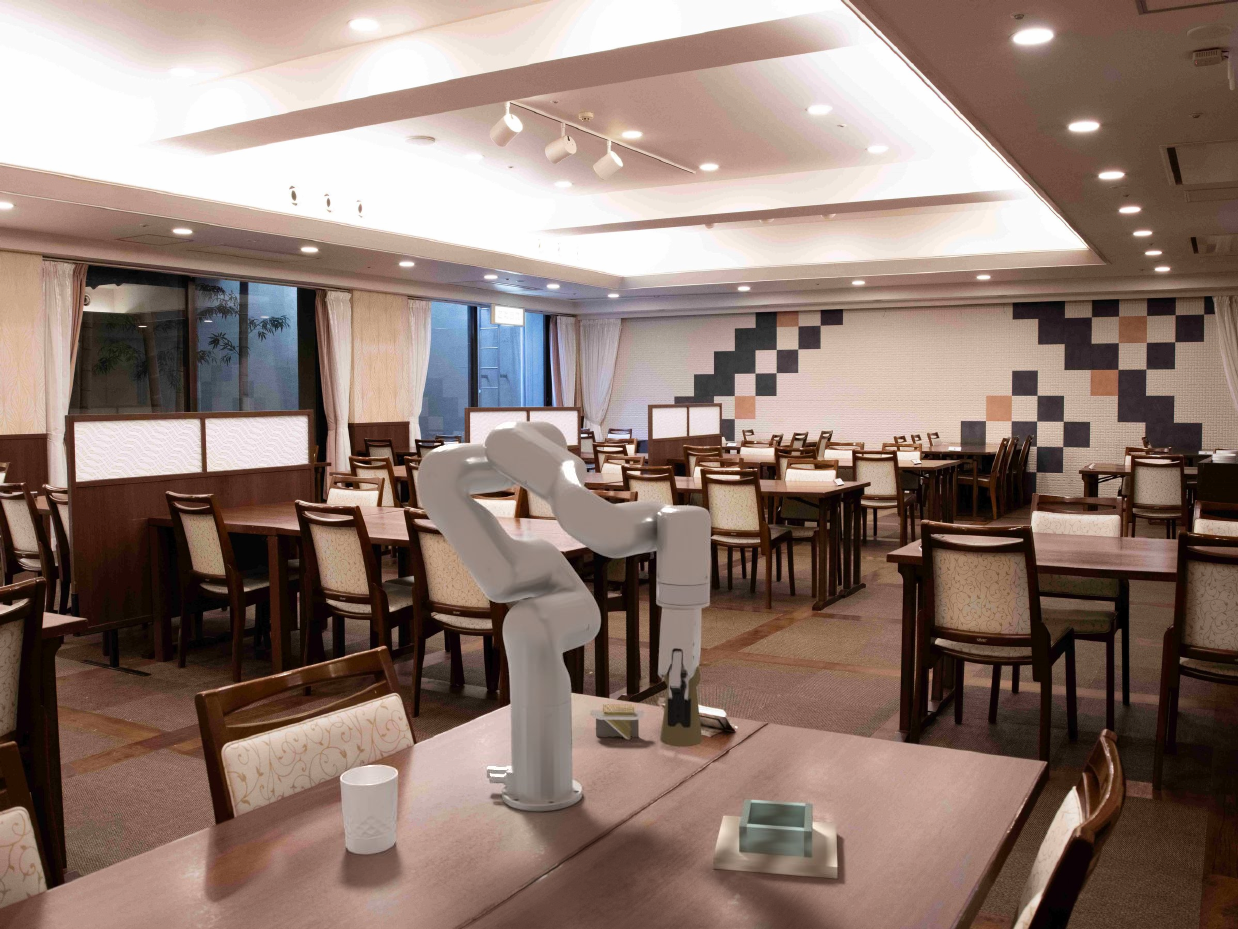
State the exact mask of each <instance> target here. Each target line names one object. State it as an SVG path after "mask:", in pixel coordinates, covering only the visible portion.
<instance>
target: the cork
mask: <svg viewBox="0 0 1238 929" xmlns="http://www.w3.org/2000/svg"><path fill="white" fill-rule="evenodd" d="M669 668H670V667H669ZM669 672H670V669H669V671H668V673H667V674H666V676H664V677H663V679H664V683H665V684H666V686H667V688H666V689H667V690H666V695H665V703H664V708H663V715H662V716H663V718H662V724H661V730H660V737H659V739H660V742H661V743H663V744H665V745H669V746H671V747H683V748H685V747H693V746H697V745H700V744H701V743H702V742H703V735H702V728H701V716H700V709H699V699H698V698H699V697H698V692H697V687H698V685H700V682H701V670H700V668H699V665H698V666H697V668H696V671H695V674H694V676H693V677H692V678H691V679H690V680H689V699H691V725H690V727H689V728H685V727H683V726H682V725H681V724H680V723H677V724H676V726H675V727H671V726H668V697H669ZM681 677H686V673H682V674H681ZM681 684H684V686H685V682H682V683H681ZM684 689H685V688H684Z"/></svg>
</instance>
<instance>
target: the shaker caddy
mask: <svg viewBox="0 0 1238 929" xmlns="http://www.w3.org/2000/svg"><path fill="white" fill-rule="evenodd" d="M813 805H814V804H813V803H810V802H809V803H808V802H793V801H778V800H762V799H750V798H749V799H747V798H746V799H745V798H744V800H743V806H742V810H741V816H736V815H723V816H722V821H721V824H720V828H719V832H718V835H717V840H716V845H715V849H714V852H713V855H712V869H713V870H725V871H726V870H727V871H736V872H737V871H740V872H750V873H751V872H753V873H763V874H776V875H789V876H798V877H799V876H800V877H812V878H815V877H816V878H824V879H825V878H828V879H838V848H837V847H838V846H837V843H838V842H837V841H838V840H837V823H836V822H825V821H814V818H813V815H814V813H813V812H814V811H813V810H814V809H813Z"/></svg>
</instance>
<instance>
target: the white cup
mask: <svg viewBox="0 0 1238 929" xmlns="http://www.w3.org/2000/svg"><path fill="white" fill-rule="evenodd" d="M339 781H340V782H339V783H340V795H341V807H342V808H341V810H342V818H343V821H342V822H343V827H344V828H343V829H344V836H345V840H344V841H345V847H346V849H347V850H348V852H350V853H353V854H355V855H373V854H379V853H383V852H385V851H387V850H389V849H391V848H392V847H394V845H395V842H396V840H397V839H396V838H397V837H396V836H397V835H396V834H397V821H398V820H397V819H398V801H399V800H398V794H399V791H398V789H399V786H398V785H399V770H398V769H396V768H395V767H392V766H390V765H383V764H371V765H370V764H369V765H365V766H364V765H363V766H356V767H354V768H350V769H349V770H346V771H344V772H343V773H342V774H341V775H340V777H339Z"/></svg>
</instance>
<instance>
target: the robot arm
mask: <svg viewBox="0 0 1238 929" xmlns="http://www.w3.org/2000/svg"><path fill="white" fill-rule="evenodd" d="M417 470H418V471H417V475H416V487H417V493H418V498H419V501H420V504H421V506H422V509H423V511H424V512H425V514H426V515H427V517H428V519H429V520H430V521H431V523H433V525H434V526H435V528H436V529H437V530H438V531H439V532H440V534H442V535H443V537H444V539H446V541H447V542H448V543H449V544H450V546H451V548H452V549H453V550H454V552H455V554H456V556H457V557H458V558H459V560H460V561H461V563H462V564H463V566H464V567H465V569H466V570H467V572H468V573H469V574H470V576H471V578H472V579H473V580H474V583H476V585H477V586H478V588H479V590H481V592H482V593H483V594H484V596H485V597H486V598H487V599H488V600H490V601H492V602H495V603H497V604H498V603H499V604H502V603H503V604H504V603H510V602H511V603H512V602H514V601H519V600H521V601H519V602H518V603H516V604H515V605H513V606H512V607H511V608H510V610H509V611H508V612H507V613H506V615H505V617H504V618H503V619H504V620H503V624H502V638H503V643H504V644H503V645H504V649H505V654H506V657H507V658H506V659H507V663H508V666H507V667H508V672H509V673H508V675H509V700H510V738H511V739H510V742H511V743H510V744H511V745H510V746H511V750H510V751H511V752H510V754H511V765H507V766H506V767H500V766H498V765H497V766H494V765H489V766H488V767H487V770H486V778H487V779H489V780H488V781H489V783H490V784H503V785H504V787H503V788H502V790H501V799H502V801H503V802H504V803H505V804H506V805H508V806H509V807H511V808H514V809H517V810H522V811H527V812H528V811H529V812H549V811H556V810H560V809H561V810H562V809H566V808H568V807H570V806H573V805H575V804H576V803H578V802H579V801H580V800H581V799H582V797H583V794H584V793H583V786H582V784H580V783H579V782H578V781H577V780H575V779H573V727H572V726H573V721H572V720H573V717H572V715H573V714H572V713H573V712H572V704H573V703H572V686H571V685H572V683H571V677H570V674H569V672H568V671H569V670H568V669H567V667H566V665H565V662H564V658H563V656H562V655H563V653H565V652H567V651H570V650H573V649H576V648H579V647H582V646H584V645H586V644H589V643H590V642H592V640H594V639H595V638H596V636H597V635H598V633H599V632H600V628H601V624H602V619H601V618H602V616H601V611H600V607H599V606H598V603H597V601H596V599H595V598H594V596H593V594H592V593H591V591H590V590H589V588H588V587H587V586H586V584H585V583H584V582H583V580H582V579H581V578H580V576H579V575H578V573H577V572H576V571H575V569H574V567H573V566H572V565H571V564H570V562H569V561H568V560H567V558H566V557H565V556H564V554H563V553H562V552H561V550H560V549H558V547H556V546H555V545H554V544H553V543H551V542H549V541H548V540H545V539H542V538H536V537H533V538H532V537H530V538H525V539H524V538H523V539H514V538H512V537H511V536H510V535H509V533H508V532H507V531H506V530H505V528H504V527H503V526H502V525H501V523H500V522H499V520H498V518H497V516H495V515H494V514H493V513H492V512H491V511H490V510H489V509H488V508H486V507H485V506H483V505H482V504H481V503H479V502H478V501H477V500H475V499H474V498H473V497H472V496H471V495H479V494H486V493H488V494H489V493H496V492H501V491H505V490H508V489H511V488H514V487H517V486H520V487H522V488H523V489H525V490H526V491H528V492H530V493H531V494H532V495H533V496H535V497H537V498H539V499H540V500H542V501H543V502H545V503H546V504H547V505H548V506H550V510H551V513H552V515H553V517H554V518H555V519H556V521H557V523H558V525H559V527H561V529H562V530H563V531H564V532H565V533H566V534H568V536H570V537H571V538H573V539H574V540H576V541H577V542H579V543H580V544H582V545H583V546H584V547H586V548H588V549H590V550H591V551H593V552H595V553H597V554H599V555H601V556H604V557H608V558H609V559H610V558H612V559H621V558H627V557H630V556H635V555H638V554H639V555H640V554H644V553H651V552H656V591H655V592H656V598H655V599H656V600H655V601H656V602H655V603H656V605H657V606H659V607H662V610H661V617H660V626H659V627H660V628H659V629H660V630H659V631H660V632H659V646H658V647H659V648H658V650H659V652H658V667H657V669H658V670H657V675H658V676H659V678H660V679H664V676H666V674H667V673H668V671H669V669H670V672H669V697H668V726H671V727H675V726H676V724H677V723H680V724H681V725H682V726H683V727H685V728H689V727H690V725H691V699H689V680H690V679H691V678H692V677H693V676H694V674H695V671H696V668H697V666H698V667H699V665H700V660H701V659H700V658H701V646H702V609H705V608H706V607H709V606H710V605H711V604H710V601H711V597H710V596H711V594H710V593H711V542H712V539H711V536H712V534H711V533H712V521H711V520H712V518H711V514H710V512H709V510H708V509H706V508H704V507H701V506H697V505H685V504H684V505H673V504H669V503H664V502H661V501H658V500H649V499H648V500H645V499H644V500H637V501H629V502H628V501H627V502H622V503H616V504H615V503H611V502H610V501H608V500H606V499H604V498H603V497H602V496H601V497H600V496H599V495H597V494H596V493H594V492H593V491H592V490H589V488H587V487H586V486H585V483H586V480H587V475H588V471H587V470H588V469H587V465H586V463H585V461H584V460H583V459H582V458H581V457H579V456H578V455H576V454H574V453H573V452H571V451H569V450H568V443H567V439H566V437H565V435H564V433H563V432H562V431H561V429H559V428H558V427H557V426H556V425H554V424H552V423H550V422H548V421H547V422H546V421H539V420H537V421H536V420H535V421H534V420H533V421H529V420H528V421H510V422H509V421H507V422H504V423H502V424H500V425H498V426H496V427H494V428H493V429H492V430H490V432H489V433H488V435H487V437H486V438H485V441H484V442H469V443H468V442H463V443H450V444H445V445H441V446H438V447H436V448H433V449H431V451H429V452H427V453H426V454H425V456H423V458H422V460H421V461H420V463H419V465H418V469H417ZM522 599H523V600H522ZM669 667H670V668H669ZM682 673H686V677H681V674H682ZM682 682H685V686H684V684H681V683H682ZM684 688H685V689H684Z"/></svg>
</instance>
